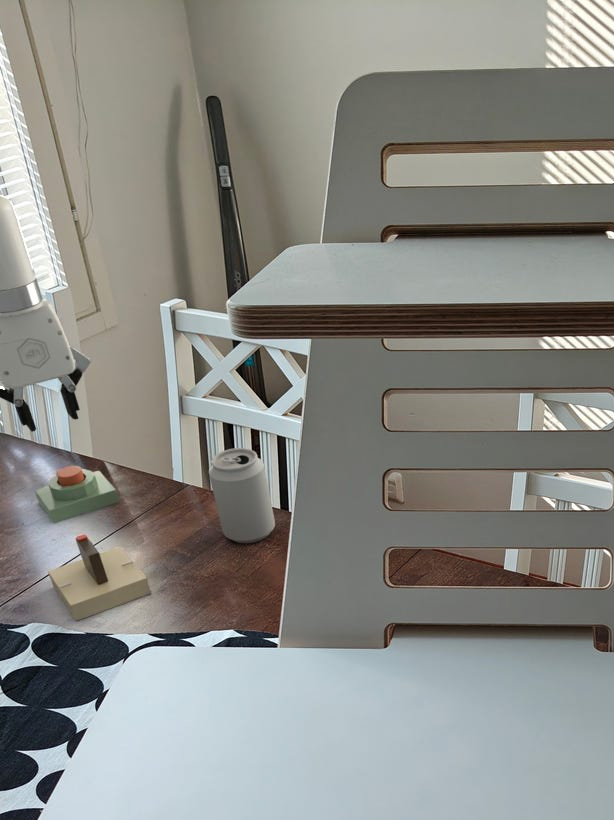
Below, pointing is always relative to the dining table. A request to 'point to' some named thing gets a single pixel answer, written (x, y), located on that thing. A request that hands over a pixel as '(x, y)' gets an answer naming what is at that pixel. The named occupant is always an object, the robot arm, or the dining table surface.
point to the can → (242, 495)
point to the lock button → (70, 476)
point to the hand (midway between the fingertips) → (52, 421)
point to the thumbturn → (91, 559)
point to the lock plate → (94, 598)
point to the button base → (76, 496)
